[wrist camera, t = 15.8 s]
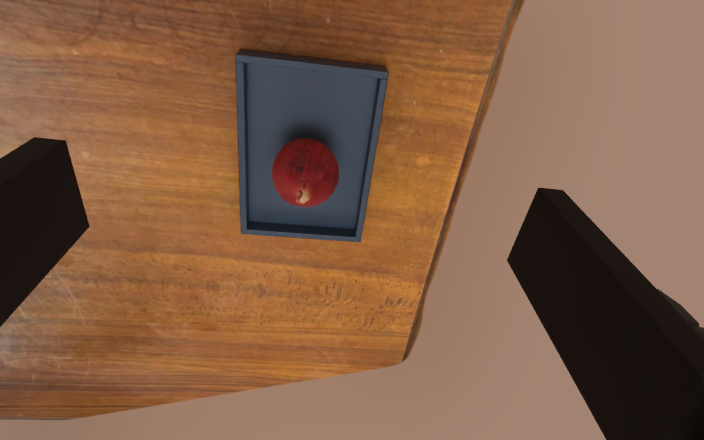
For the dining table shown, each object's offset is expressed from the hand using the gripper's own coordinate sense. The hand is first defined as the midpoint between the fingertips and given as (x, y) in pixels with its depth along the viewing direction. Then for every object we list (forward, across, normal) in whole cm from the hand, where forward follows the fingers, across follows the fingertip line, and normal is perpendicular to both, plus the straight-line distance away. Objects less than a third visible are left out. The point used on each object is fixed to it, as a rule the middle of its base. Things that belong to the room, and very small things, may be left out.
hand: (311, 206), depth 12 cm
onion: (+25, -1, -10) cm, 27 cm away
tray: (+26, -1, -10) cm, 28 cm away
